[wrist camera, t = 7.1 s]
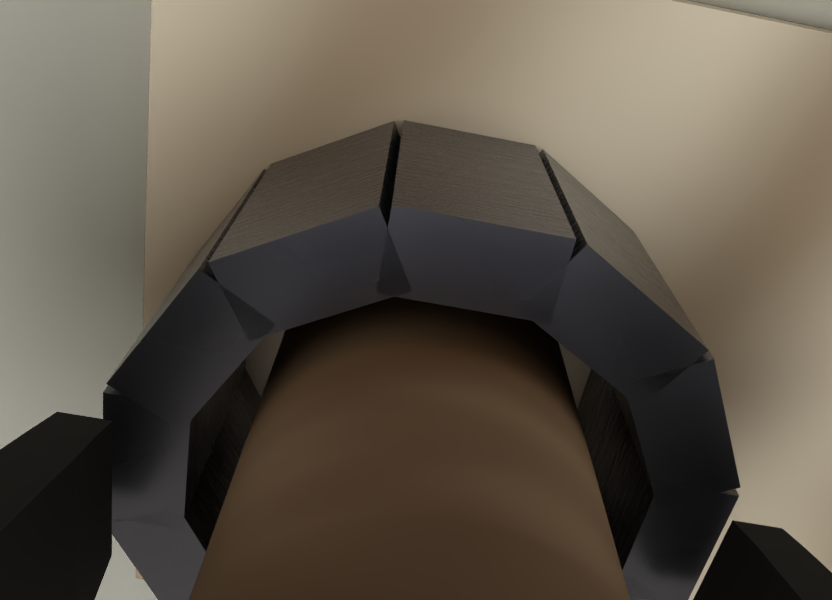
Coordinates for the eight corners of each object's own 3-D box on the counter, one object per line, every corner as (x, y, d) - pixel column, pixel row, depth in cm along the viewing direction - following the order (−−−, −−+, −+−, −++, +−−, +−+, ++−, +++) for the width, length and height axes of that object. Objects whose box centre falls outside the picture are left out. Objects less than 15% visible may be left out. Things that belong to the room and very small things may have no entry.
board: (1366, 141, 12) (1443, 160, 11) (965, 663, 17) (994, 704, 16) (178, -105, 10) (154, -108, 10) (152, 540, 16) (136, 577, 15)
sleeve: (725, 181, 11) (841, 287, 8) (579, 560, 14) (619, 738, 11) (201, 80, 11) (103, 151, 7) (177, 497, 14) (102, 667, 11)
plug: (589, 259, 12) (718, 559, 6) (519, 479, 14) (571, 849, 8) (302, 206, 11) (181, 473, 6) (273, 440, 13) (163, 796, 8)
